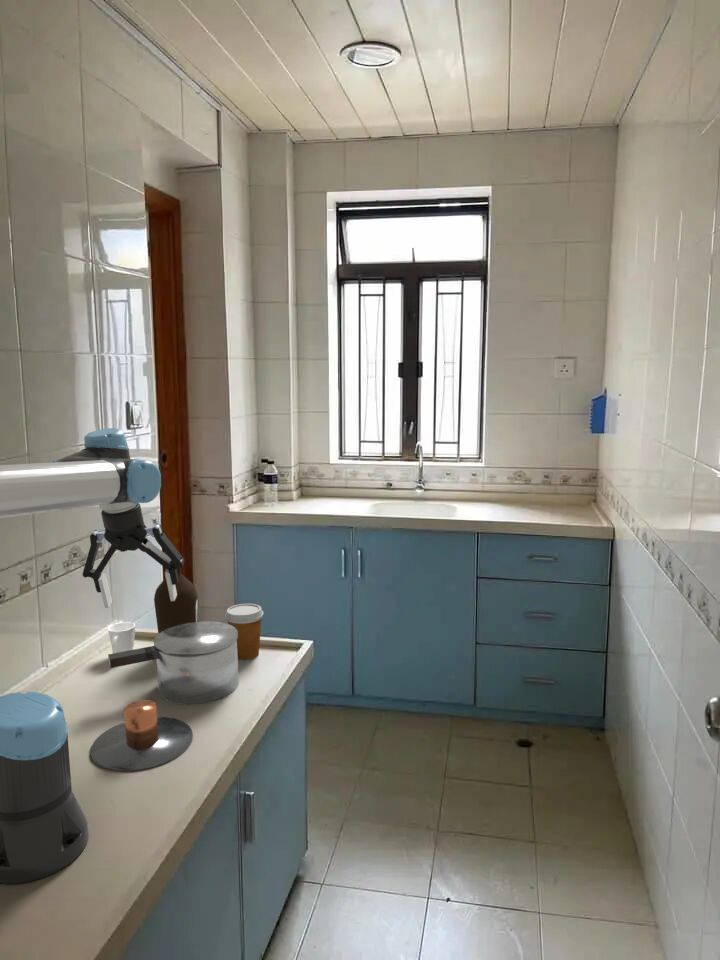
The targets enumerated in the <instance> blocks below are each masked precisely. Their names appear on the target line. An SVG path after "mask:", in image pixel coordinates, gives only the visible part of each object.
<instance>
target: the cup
mask: <svg viewBox="0 0 720 960" xmlns="http://www.w3.org/2000/svg"><path fill="white" fill-rule="evenodd" d="M107 632H108V636H109V639H110V644H111V647H112V648H111V649H112V654H113V653H119V652H124V651H129V650H134V647H135V635H136V624H135V622H131V621H130V622H129V621H123V622H116V623H113V624H111V625H109V626H107Z"/></svg>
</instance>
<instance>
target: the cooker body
mask: <svg viewBox="0 0 720 960" xmlns="http://www.w3.org/2000/svg"><path fill="white" fill-rule="evenodd" d="M237 638H238V632H237V629H236V628H235V627H233V626H231V625H229V624H228V623H227V622H226V623H225V622H220V621H208V620H207V621H198V622H192V623H186V624H181V625H177V626H174V627H171V628H168V629H166V630H164V631H162V632H160V633H159V634H158V633H157V635H155V637H154V639H153V645H152V646H147V647H141V648H135V649H134V648H133V650H129V651H124V652H119V653H113V652H112V653H110V654H107V655H108V656H107V659H108V665H109V668H110V669H114V668H118V667H123V666H128V665H134V664H140V663H144V662H149V661H153V660H154V661H155V660H156V671H157V673H156V674H157V685H158V694H159V695H160V697H161V698H162V699H163V700H165V701H167V702H170V703H174V704H179V705H196V704H197V705H198V704H205V703H209V702H213V701H218V700H220V699H222V698H225V697H226V696H228V695H230V694H232V693H234V691H235V690H236V689H237V688H238V686H239V684H240V679H239V678H240V677H239V661H238V660H239V659H238V655H237Z"/></svg>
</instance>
